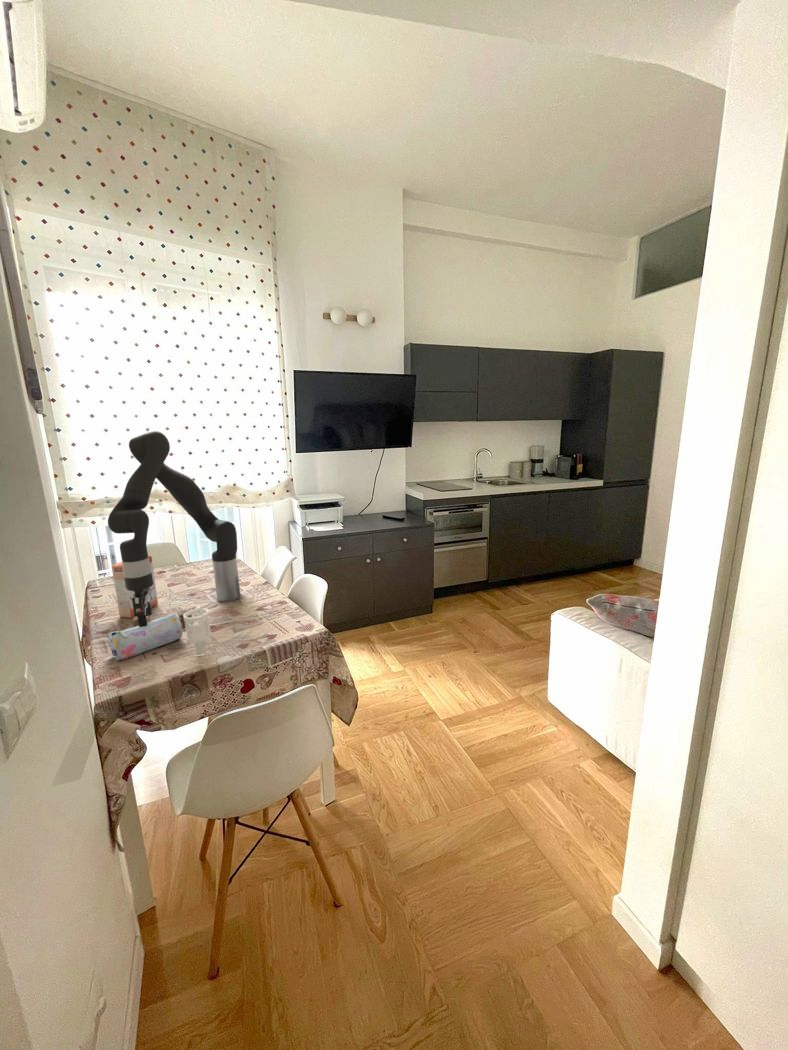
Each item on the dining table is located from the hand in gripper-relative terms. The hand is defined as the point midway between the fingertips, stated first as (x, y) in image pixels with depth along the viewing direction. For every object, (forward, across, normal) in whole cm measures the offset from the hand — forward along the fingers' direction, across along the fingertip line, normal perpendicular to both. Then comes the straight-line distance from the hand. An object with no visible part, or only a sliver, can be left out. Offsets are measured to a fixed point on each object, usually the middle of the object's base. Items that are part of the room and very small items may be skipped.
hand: (145, 620), depth 138 cm
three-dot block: (+10, +18, +5) cm, 21 cm away
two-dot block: (+10, +16, -9) cm, 21 cm away
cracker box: (+10, +36, +9) cm, 39 cm away
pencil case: (+10, +1, +1) cm, 10 cm away
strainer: (+10, -10, -16) cm, 21 cm away
